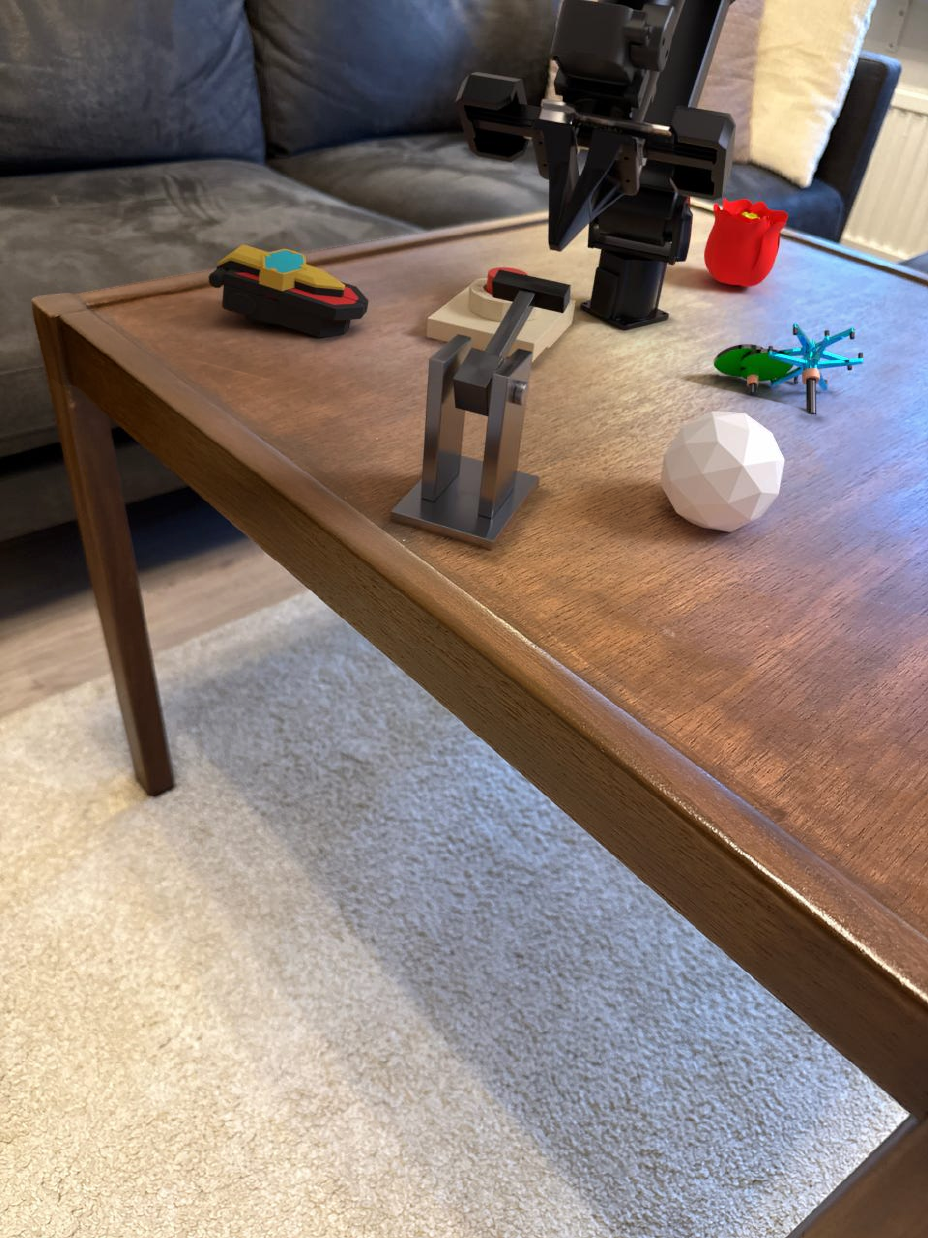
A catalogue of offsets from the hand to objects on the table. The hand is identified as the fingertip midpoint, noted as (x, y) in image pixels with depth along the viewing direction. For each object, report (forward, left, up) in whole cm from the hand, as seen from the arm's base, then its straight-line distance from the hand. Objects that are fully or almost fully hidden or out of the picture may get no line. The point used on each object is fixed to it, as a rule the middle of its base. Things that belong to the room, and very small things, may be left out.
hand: (554, 247), depth 64 cm
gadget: (+5, -26, -14) cm, 30 cm away
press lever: (+7, +4, -5) cm, 9 cm away
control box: (-11, -16, -14) cm, 24 cm away
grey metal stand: (+11, +6, -14) cm, 19 cm away
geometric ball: (-3, +16, -14) cm, 21 cm away
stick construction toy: (-24, +6, -14) cm, 28 cm away
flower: (-43, -15, -14) cm, 47 cm away
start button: (-11, -16, -10) cm, 22 cm away
